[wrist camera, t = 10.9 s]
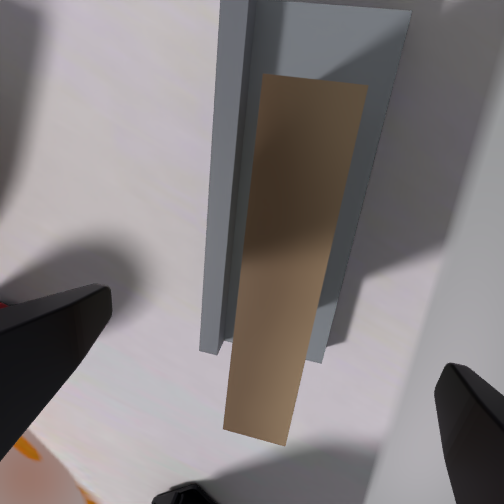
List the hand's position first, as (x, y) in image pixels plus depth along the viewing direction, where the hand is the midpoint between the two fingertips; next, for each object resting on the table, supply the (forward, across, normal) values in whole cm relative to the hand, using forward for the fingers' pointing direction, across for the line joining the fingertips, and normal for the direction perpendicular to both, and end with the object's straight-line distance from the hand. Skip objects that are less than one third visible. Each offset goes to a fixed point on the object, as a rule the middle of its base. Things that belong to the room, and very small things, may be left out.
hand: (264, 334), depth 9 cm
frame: (+10, 0, 0) cm, 10 cm away
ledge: (+12, +1, 0) cm, 12 cm away
